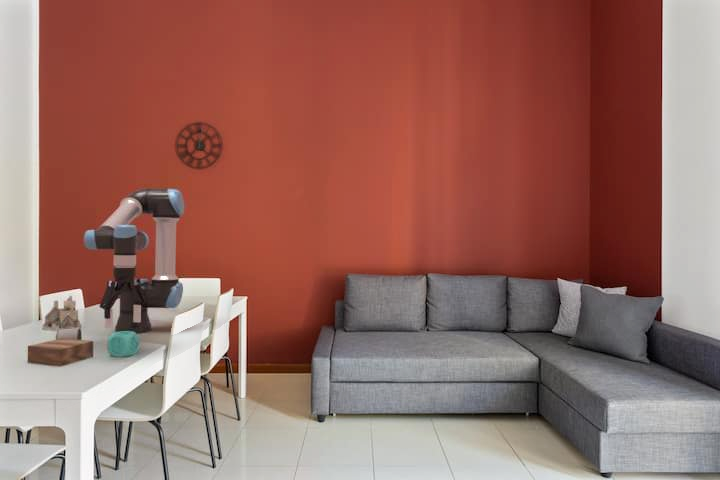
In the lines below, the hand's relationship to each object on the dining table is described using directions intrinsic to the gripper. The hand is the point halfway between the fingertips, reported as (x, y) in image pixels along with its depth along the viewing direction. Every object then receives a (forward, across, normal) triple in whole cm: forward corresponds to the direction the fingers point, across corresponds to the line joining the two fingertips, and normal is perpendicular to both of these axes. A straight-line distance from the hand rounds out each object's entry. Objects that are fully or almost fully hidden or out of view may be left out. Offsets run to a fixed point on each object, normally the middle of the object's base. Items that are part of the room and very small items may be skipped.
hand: (123, 324), depth 187 cm
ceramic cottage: (+11, -29, -62) cm, 70 cm away
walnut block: (+12, +14, -14) cm, 23 cm away
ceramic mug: (+11, -1, -27) cm, 29 cm away
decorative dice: (+11, 0, 0) cm, 11 cm away
